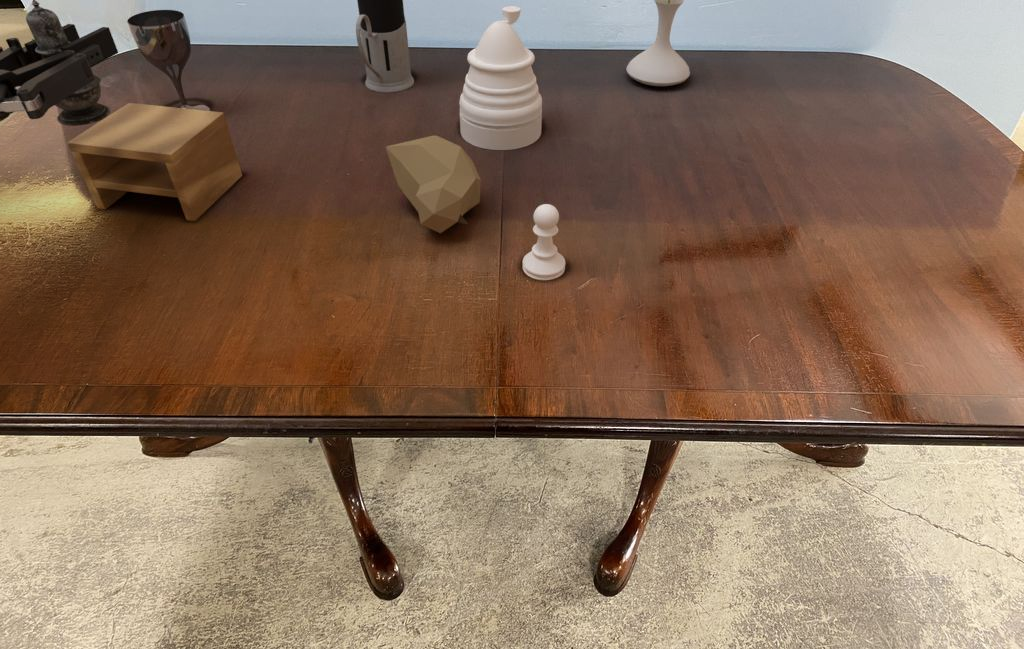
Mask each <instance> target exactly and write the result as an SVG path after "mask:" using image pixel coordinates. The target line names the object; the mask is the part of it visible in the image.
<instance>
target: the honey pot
mask: <svg viewBox="0 0 1024 649" xmlns="http://www.w3.org/2000/svg"><path fill="white" fill-rule="evenodd" d="M521 11H522V10H521V7H519V6H515V5H509V6H504V7H502V15H503V18H504V20H496V21H494V22H492V23H491V24H490V25H489V26H488V27H487V28H486V30H485V31H484V33H483V34H482V36H481V38H480V40H479V42H478V43H477V46H476V47H475V48H473V49H471V50H470V51H469V52H468V53H467V57H466V60H467V62H468V64H469V68H468V72H467V73H466V75H465V78H464V84H463V88H462V92H461V94H460V97H459V103H458V104H459V127H460V128H459V130H460V132H459V133H460V135H461V138H462V139H463V140H464V141H465V142H466V143H468V144H470V145H472V146H474V147H477V148H480V149H485V150H492V151H510V150H511V151H512V150H518V149H522V148H525V147H529V146H530V145H533V144H534V143H536V142H537V141H538V140H539V139H540V137H541V135H542V123H543V122H542V121H543V98H542V95H541V94H540V92H539V85H538V83H537V76H536V75H535V73H534V70H533V67H532V65H533V64H534V62H535V60H536V58H535V54H534V52H533V51H532V50H530V49H529V48H527V47H525V46H524V44H523V41H522V40H521V38H520V36H519V34H518V33H517V31H516V30H515V28H514V27H513V26H512V25H513V24H515V23H516V22H517V21H518V20H519V18H520V16H521Z"/></svg>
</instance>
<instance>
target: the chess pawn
mask: <svg viewBox="0 0 1024 649" xmlns="http://www.w3.org/2000/svg"><path fill="white" fill-rule="evenodd" d="M532 217H533V218H532V219H533V222H534V226H533V227H532V232H533V233H534V234H535V235H536V236H537V240H536V243H534V244H533V245H532V247H531V251H529V252H528V253H526V254H525V255H524V257H523V258H522V261H521V262H522V270H523V272H524V273H525V274H526V276H528V277H530V278H531V279H534V280H538V281H550V280H551V281H552V280H555V279H558V278H559V277H561V276H562V275H563V274H564V273H565V270H566V264H567V263H566V259H565V257H564V256H563V255H562V254H561V253H559V252H558V247H557V245H555V244H554V241H553V237H554V236H556V235H557V234H558V233H559V228H558V226H557V225H558V224H559V220H560V214H559V211H558V209H557V208H556V207H555V205H553V204H549V203H543V204H540V205H538V206H537V207H536V209H535V210H534V212H533V215H532Z"/></svg>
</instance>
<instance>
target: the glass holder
mask: <svg viewBox="0 0 1024 649" xmlns="http://www.w3.org/2000/svg"><path fill="white" fill-rule="evenodd" d="M357 8H358V17H357V19H356V22H355V36H356V41H357V47H358V51H359V55H360V57H361V59H362V62H363V63H364V66H365V74H366V80H365V81H364V82H365V87H366V88H367V89H368V90H370V91H373V92H377V93H398V92H402V91H405V90H408V89H411V87H413V85H414V84H415V79H414V77H413V76H412V72H411V60H410V59H411V58H410V49H409V39H408V30H407V21H406V16H405V8H404V0H357Z"/></svg>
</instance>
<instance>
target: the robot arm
mask: <svg viewBox="0 0 1024 649" xmlns="http://www.w3.org/2000/svg"><path fill="white" fill-rule="evenodd" d="M62 28H63V31H64V33H65V35H66V38H67V40H68V41H69V42H71V43H69V44H67V45H65V46H63V47H61V50H62V52H61V53H58V54H56V55H53V56H50V57H48V58H45V59H42V57H41V54H39V53H37V52H36V51H35V48H36V47H37V44H36V41H35V39H34V38H33V39H31V40H30V41H27V42H25V43H24V44H23V45H24V46H22V44H21V42H20V40H19V38H18V37H11V38H6V39H5V42H6V43H7V45H8V48H6V49H4V48H3V47H2V46H0V122H2V121H4V120H6V119H7V118H9V116H10V115H11V114H13V113H16V112H17V113H18V112H25V113H26V115H27V117H28V119H29V120H38V119H41V118H43V117H44V116H45V115H46V113H47V112H48V110H49V109H51V108H52V107H54V106H55V104H57V103H59V102H60V101H62V100H63V99H65V98H67V97H68V96H70V95H71V94H73V93H75V92H76V91H78V90H79V89H81V88H83V87H84V86H86V85H87V84H89V83H91V82H92V81H94V80H95V77H94V75H93V74H94V72H93V69H92V68H94V67H95V66H97V65H99V64H101V63H102V62H104V61H106V60H108V59H110V58H111V57H114V56H115V55H117V54H119V51H118V48H117V45H116V43H115V40H114V37H113V34H112V32H111V29H110V27H109V26H102V27H100V28H98V29H96V30H94V31H91V32H89V33H87V34H86V35H83V36H81V37H80V35H79V33H78V30H77V28H76V25H75V24H73V23H67V24H65V25H63V26H62Z"/></svg>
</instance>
